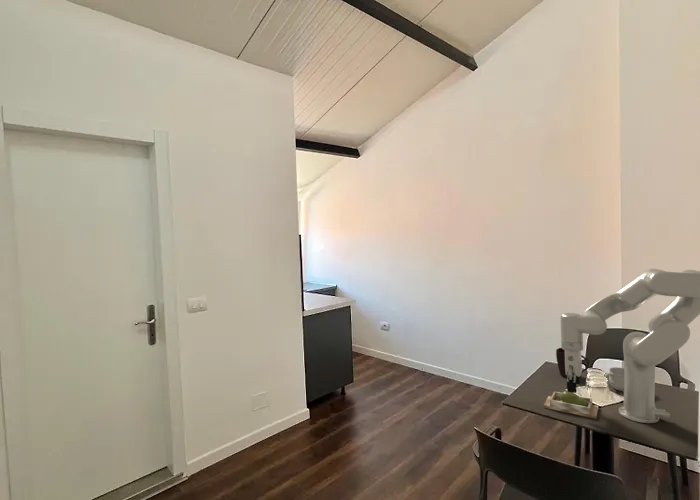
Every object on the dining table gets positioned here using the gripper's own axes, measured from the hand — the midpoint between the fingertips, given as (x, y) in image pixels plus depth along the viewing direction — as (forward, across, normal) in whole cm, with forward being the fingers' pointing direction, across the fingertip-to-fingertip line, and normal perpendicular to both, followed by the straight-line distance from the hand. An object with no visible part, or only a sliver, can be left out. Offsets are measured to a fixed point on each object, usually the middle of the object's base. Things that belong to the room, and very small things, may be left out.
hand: (573, 387), depth 164 cm
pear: (+7, 0, 0) cm, 8 cm away
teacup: (+9, +31, -14) cm, 36 cm away
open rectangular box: (+8, 0, +1) cm, 8 cm away
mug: (+9, +38, +5) cm, 39 cm away
